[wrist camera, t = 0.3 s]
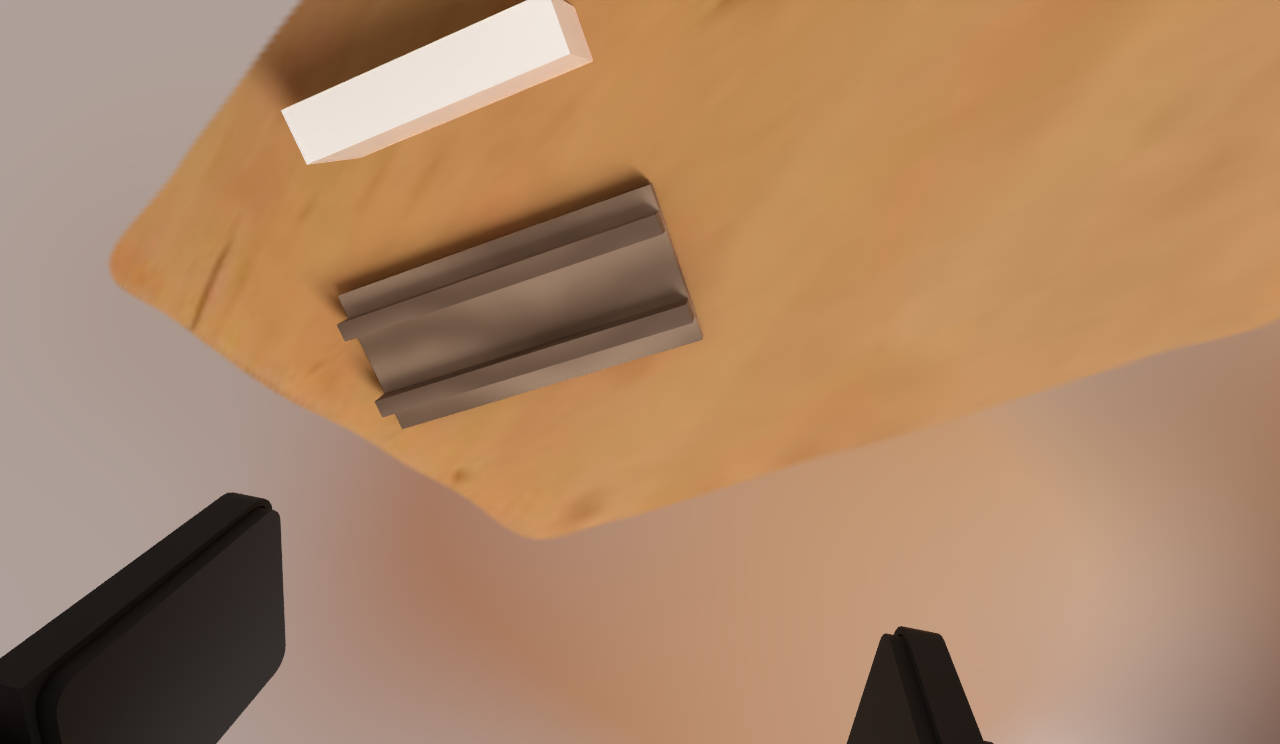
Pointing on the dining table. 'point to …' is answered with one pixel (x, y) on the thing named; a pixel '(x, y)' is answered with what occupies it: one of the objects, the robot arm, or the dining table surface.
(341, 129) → the white strip
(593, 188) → the dining table surface
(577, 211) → the walnut rack
